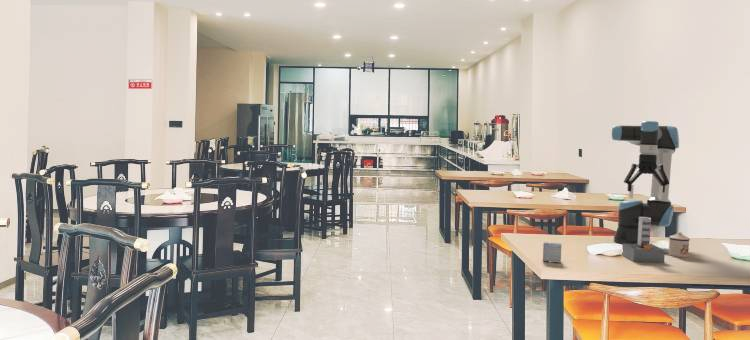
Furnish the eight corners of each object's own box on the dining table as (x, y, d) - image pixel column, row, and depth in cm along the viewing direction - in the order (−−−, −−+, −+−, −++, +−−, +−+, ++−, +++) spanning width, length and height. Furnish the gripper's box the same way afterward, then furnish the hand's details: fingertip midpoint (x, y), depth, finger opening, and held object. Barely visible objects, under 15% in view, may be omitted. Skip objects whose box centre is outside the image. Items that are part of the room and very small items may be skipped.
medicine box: (560, 261, 271) (561, 242, 270) (560, 263, 266) (561, 244, 266) (543, 259, 273) (543, 241, 272) (542, 261, 269) (543, 243, 268)
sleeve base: (622, 255, 287) (622, 240, 287) (651, 256, 287) (652, 240, 286) (633, 261, 273) (634, 245, 273) (664, 262, 273) (665, 246, 272)
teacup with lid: (683, 258, 284) (684, 234, 283) (664, 254, 291) (665, 231, 290) (694, 255, 291) (696, 232, 290) (676, 252, 298) (677, 229, 298)
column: (636, 257, 282) (638, 216, 281) (645, 258, 282) (647, 217, 280) (640, 260, 277) (642, 218, 276) (649, 260, 277) (651, 218, 276)
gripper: (624, 153, 273) (621, 198, 275) (678, 155, 272) (676, 200, 274) (618, 152, 281) (615, 197, 282) (671, 154, 280) (668, 198, 281)
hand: (645, 198), depth 278 cm, fingers open, 13 cm apart
